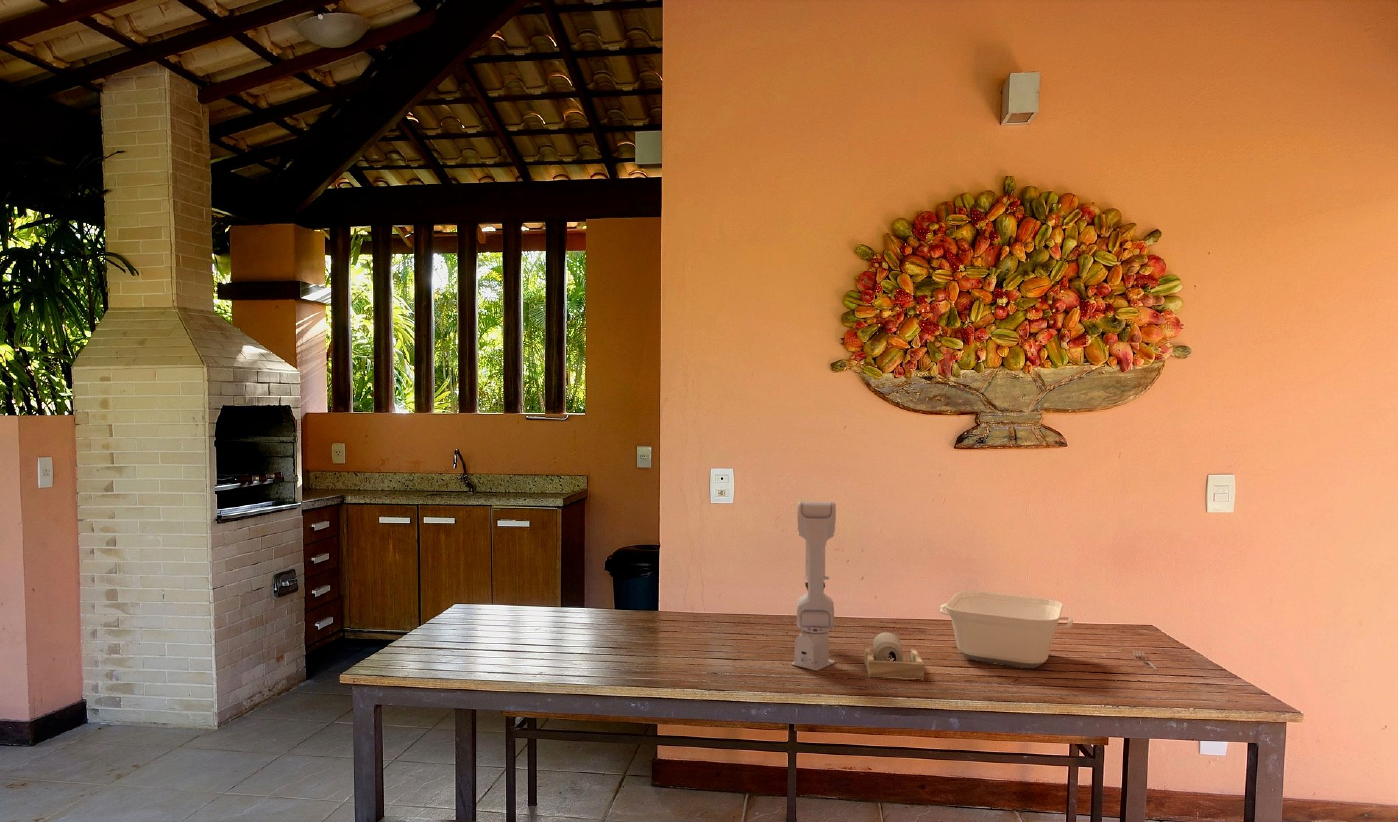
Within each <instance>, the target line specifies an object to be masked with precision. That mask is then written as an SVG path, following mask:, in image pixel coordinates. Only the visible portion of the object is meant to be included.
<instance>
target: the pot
mask: <svg viewBox="0 0 1398 822" xmlns="http://www.w3.org/2000/svg"><path fill="white" fill-rule="evenodd" d="M1063 607H1064V604H1063V603H1062V602H1060V601H1058V600H1055V599H1050V598H1043V597H1033V596H1028V595H1027V596H1026V595H1016V594H1008V593H1007V594H1005V593H997V592H986V591H978V590H977V591H976V590H963V591H958V592H956V593H955V594H954V595H953V596H952V597H951V598H950V599H949V600H948V601H947V602H944V603H943V604H942V605H940V607H939V613H940V614H942V615H946V616H949V617H950V619H951V624H952V629H953V633H954V635H953V636H954V639H955V644H956V647H957V650H958V651H959V652H960V653H961V654H962V655H963V656H964V657H965V658H967V659H969V660H970V659H971V661H973V660H975V661H974V662H978V661H983V662H982V663H985V662H988V663H987V664H992V663H997V664H996V665H999V664H1002V665H1001V666H1005V665H1008V667H1012V666H1017V667H1016V668H1019V667H1023V668H1022V669H1026V668H1032V669H1035V668H1038V667H1040V666H1042V665H1043V664H1044V663H1045V662H1047V660H1048V658H1049V654H1050V651H1051V648H1052V643H1053V639H1054V636H1055V632H1056V630H1058V629H1063V630H1066V629H1071V628H1072V627H1073V624H1074V620H1073V618H1072V617H1069V616H1062V617H1061V615H1062V610H1063ZM1061 620H1062V621H1063V620H1064V621H1067V623H1066V625H1058V624H1059V621H1061Z"/></svg>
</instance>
